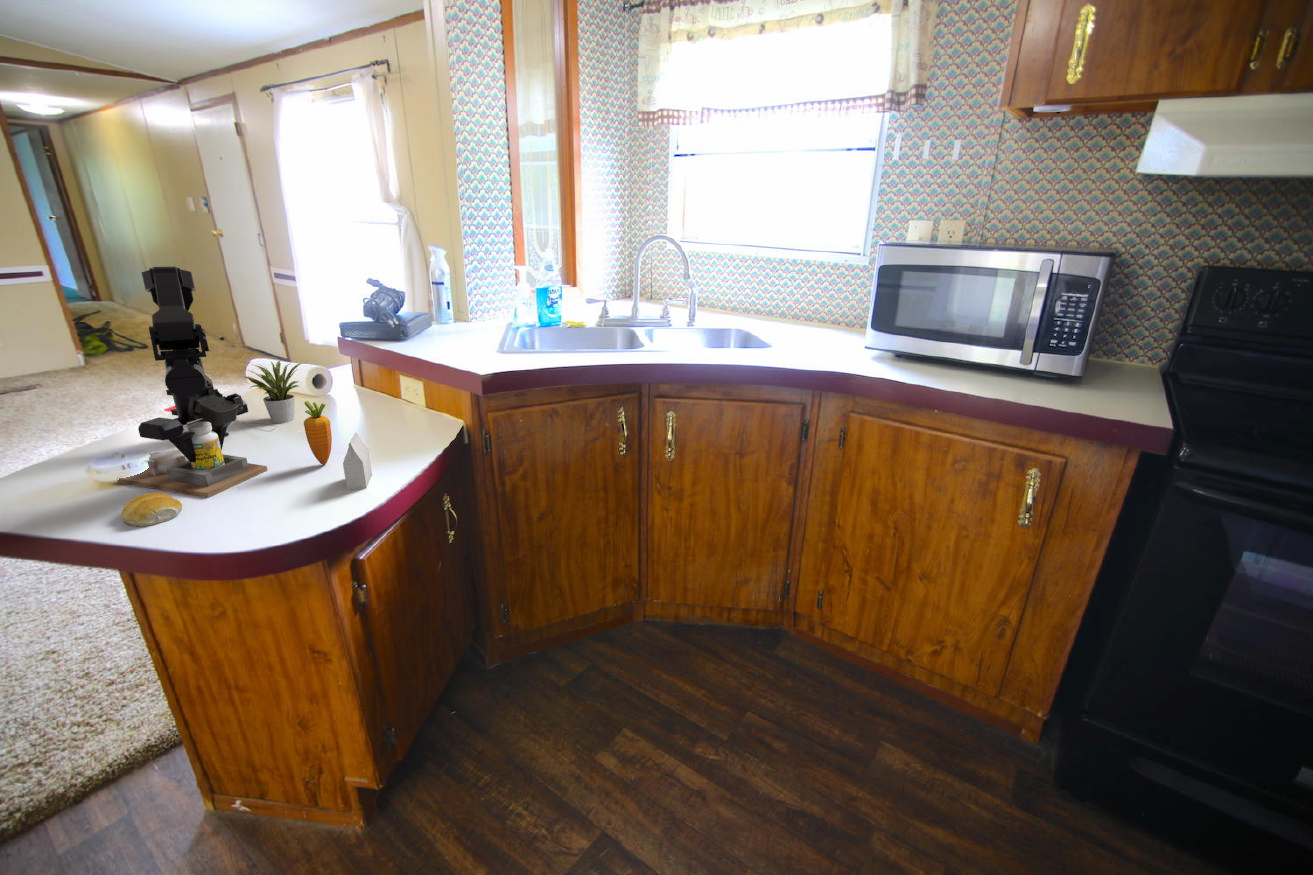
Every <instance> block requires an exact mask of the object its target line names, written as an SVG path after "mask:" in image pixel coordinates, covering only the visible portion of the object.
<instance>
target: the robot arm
mask: <svg viewBox="0 0 1313 875" xmlns="http://www.w3.org/2000/svg"><path fill="white" fill-rule="evenodd" d="M141 276H142V282H143V285H144V289H145V291H146V293H150V294H151V297H152V302H153V303H154V304H156V306H157V308H158V310H156V312H154V313H153V314H152V315H151V321H152V323H151V324H152V326H148V332H149V336H150V342H151V347H152V350H153V358H154V360H155V362H157V361H158V362H159V361H164V362H163V363H164V365H165V366H164V367H165V374H164V383H165V386H166V388H167V389H166V390H165V391H166V395H167V396H172V398H173V402H174V407H175V408H174V409H170V412H171V416H177V417H176V418H167V417H161V416H160V417H156V418H152V419H148V420H145V421H142V422H140V424H139V425H138V434H139V437H140V438H144V439H150V440H158V441H169V442H170V443H171V444H173V446H174V447H176V448H177V450H179V451H180V452H181V453H182V454H183V455H184V456H185V457H186V458H187V459H188V460H189V461H190V462H196V456H195V451H194V447H193V443H192V437H193V436H194V434H195V432H189V431H188V427H187V425H190V424H193V423H196V422H210V423H211V426H212V430H211V431H213V432H215V433H217V435H218V438H219V442H220V446H221V450H222V451H223V446H224V442H225V437H226V436H229V434H230V433H229V432H227V429H228V426H229V425H230V424H231V423H232V422H235V421H236V420H237V418H238V416H241V415H244V414H246V413H249V407H248V404H247V402H246V401H245V400H243V399H242V395H240V394H238V393H232V394H229V395H227V396H225V395H223V394H222V393H221V392H220V391H219V390H218V388H214V382H213V379H211V378H210V377H209V376H208V375H207V374H206V373H205V369H204V364H203V360H202V358H206V357H207V353H206V352H210V348H209V344H208V343H209V342H208V340H207V335H206V330H205V329H204V328H203V327H202V325H201V324H200V323H196V322H195V318H194V315H193V313H192V312H190V311H189V310H190V308H191V306H192V304H193V302H194V295H193V292H196V287H195V283H194V282H195V281H194V277H193V274H192V271H189V270H185V269H181V267H177V266H171V265H170V266H152V267H149V268H148V270H145V271H141ZM200 348H201V351H200Z"/></svg>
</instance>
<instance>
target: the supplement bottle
mask: <svg viewBox="0 0 1313 875" xmlns="http://www.w3.org/2000/svg"><path fill="white" fill-rule="evenodd" d="M187 427H188V431H189V432H195V434H194V436H193V437H192V443H193V447H194V451H195V456H196V462H191V464H192V468H193V470H196V471H202V472H207V471H210V470H212V469H215V468H217V467H219V466H222V465H224V464H225V463H224V459H223V455H222V454H223V449H222V450H221V446H220V442H219V438H218V435H217V433H215V432H213V431H211V430H212V426H211V423H210V422H196V423H193V424H190V425H187Z"/></svg>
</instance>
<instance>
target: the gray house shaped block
mask: <svg viewBox="0 0 1313 875" xmlns="http://www.w3.org/2000/svg"><path fill="white" fill-rule="evenodd" d="M342 466H343V474H344V479H345V486H346V490H361V489H363V490H364V489H368V486H369V484H370V480H371V478H372V476H373V472H372V466H371V457H370V450H369V449H368V447H367V446H366V444H365V443H364V442H363V440H362V439H361V437H360V436H359V434H358V432H355V433H353V435H352V438H351V439H350V441H349V443H348V448H347V452H346V453H345V457H344V458H343V462H342Z"/></svg>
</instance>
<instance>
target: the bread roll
mask: <svg viewBox="0 0 1313 875" xmlns="http://www.w3.org/2000/svg"><path fill="white" fill-rule="evenodd" d="M182 510H183V504H182V503H181V501H180V500H178V499H176V498H174V497H172V495H169V494H167V493H162V492H149V493H144V494H141V495H138V496H135V497H134V498H132V499H131V500H129V501H128V502H127V503H126V504H125V505H124V507H123V508H122V510H121V513H120V518H121V520H122V521H123V522H125V523H127V524H128V525H130V526H133V527H148V526H154V525H157V524H161V523H166V522H168V521H170V520H173V519H175V518H177V517H178V516H179V514H181V511H182Z"/></svg>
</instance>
